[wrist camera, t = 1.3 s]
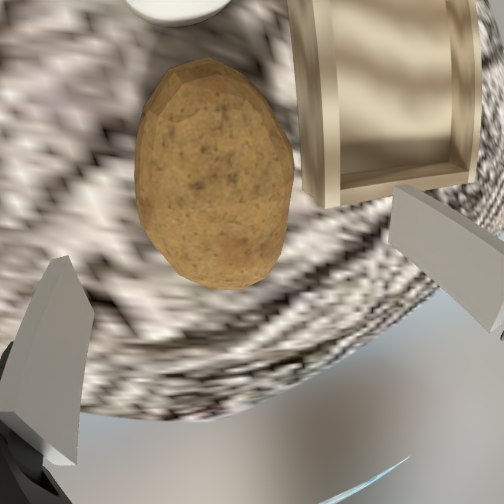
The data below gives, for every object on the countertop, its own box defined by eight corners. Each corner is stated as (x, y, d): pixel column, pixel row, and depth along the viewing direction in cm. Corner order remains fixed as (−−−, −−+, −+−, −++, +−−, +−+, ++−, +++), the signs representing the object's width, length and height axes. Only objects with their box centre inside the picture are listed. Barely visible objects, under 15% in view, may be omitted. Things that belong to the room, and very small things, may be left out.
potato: (259, 56, 19) (308, 44, 12) (277, 231, 26) (318, 287, 19) (118, 81, 17) (91, 77, 10) (161, 258, 24) (164, 327, 18)
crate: (280, -44, 14) (302, -63, 11) (444, -6, 17) (473, -8, 14) (302, 189, 25) (325, 208, 21) (447, 168, 28) (474, 182, 24)
